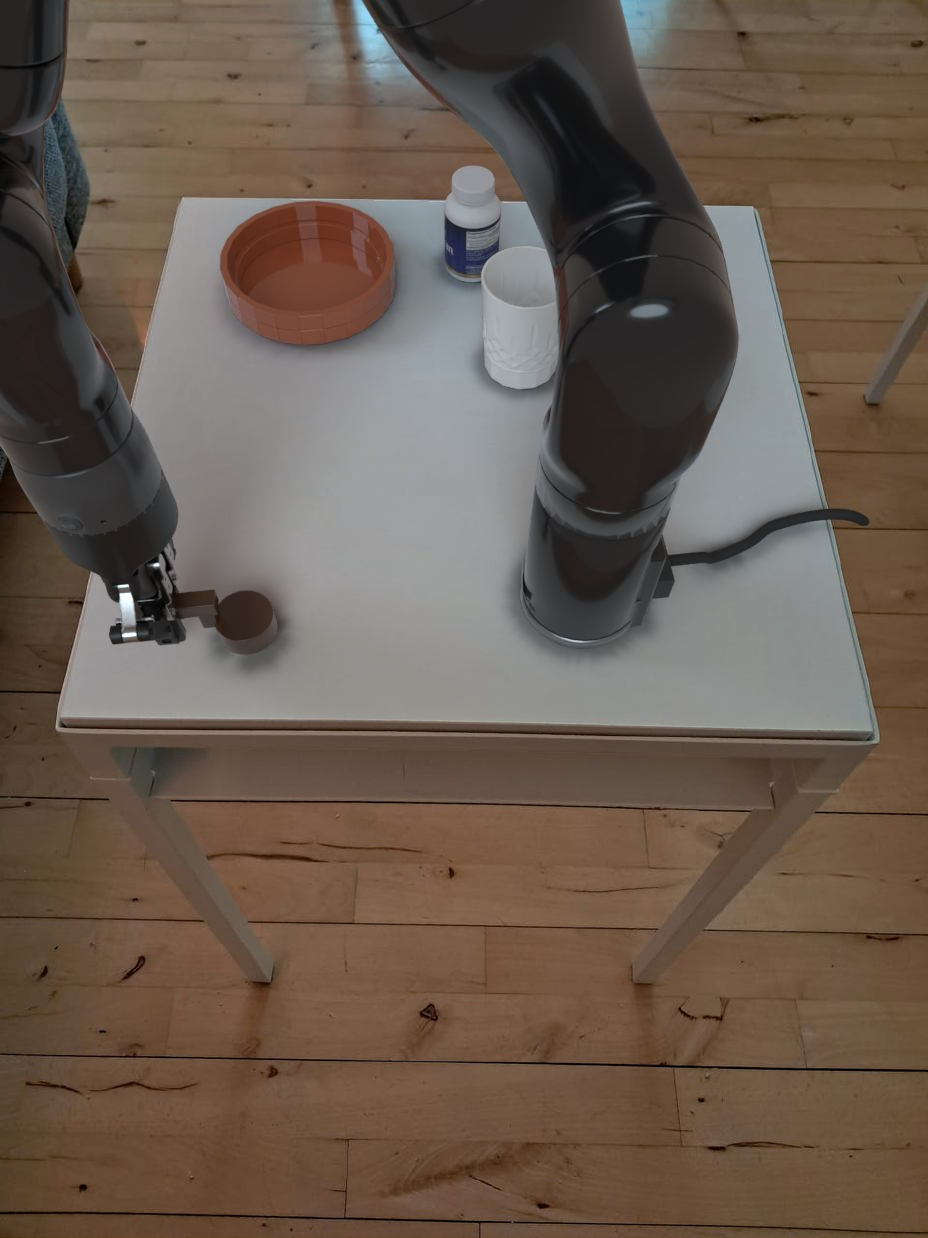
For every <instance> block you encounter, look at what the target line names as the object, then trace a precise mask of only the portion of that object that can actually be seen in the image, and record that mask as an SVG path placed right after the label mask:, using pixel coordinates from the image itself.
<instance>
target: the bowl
mask: <svg viewBox="0 0 928 1238" xmlns="http://www.w3.org/2000/svg"><path fill="white" fill-rule="evenodd" d="M395 262H396V261H395V252H394V243H393V242H392V240H391V237H389V234H388V233H387V230H386V229H385V228H384V227H383V226H382V225H381V224H380V223H379V222H378V221H377V220H376V219H375V218H373V217H372V216H370V215H369V214H366V213H365V212H363V211H361V210H360V209H358V208H355V207H352V206H349V205H345V204H342V203H339V202H328V201H320V200H307V201H292V202H288V203H284V204H280V205H275V206H272V207H270V208H267V209H264V210H262V211H260V212H257V213H255V214H254V215H252V216H251V217H249V218H247V219H246V220H245V221H243V222H242V223H240V224H239V225H237V227H236V228H235V229H233V231H232V232H231V233H230V234H229V236H228V237H227V238H226V240H225V243H224V245H223V247H222V249H221V251H220V255H219V271H220V276H221V280H222V283H223V288H224V292H225V296H226V298H227V301H228V305H229V307H230V309H231V312H232V313H233V314H234V315H235V317H236V318H237V319H238V320H239V322H240V323H242V325H244V326H245V327H247V328H248V329H250V330H251V331H252V332H254V333H256V334H257V335H259V336H261V337H265V338H268V339H270V340H273V341H276V342H279V343H284V344H293V345H301V346H306V345H321V344H328V343H332V342H337V341H339V340H343V339H347V338H350V337H352V336H354V335H356V334H358V333H360V332H362V331H363V330H367V329H368V328H369V327H370V326H371V325H372V324H374V323H375V322H376V321H377V320H378V319H380V318H381V317H382V316H383V315H384V314H385V312H386V310H387V309H388V308H389V306H390V305H391V304H392V302H393V298H394V295H395V291H396V288H397V282H396V266H395V265H396V264H395Z"/></svg>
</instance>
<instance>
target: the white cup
mask: <svg viewBox="0 0 928 1238" xmlns="http://www.w3.org/2000/svg"><path fill="white" fill-rule="evenodd" d="M480 284H481V322H482V323H481V324H482V325H481V326H482V327H481V328H482V340H483V347H484V350H483V351H484V367H485V369H486V371H487V373H488V375H489V376H490V378H491V379H492V380H494V381H495V382H497V383H498V384H500V385H501V386H503V387H506V388H511V389H516V390H527V389H535V388H537V387H539V386H541V385H543V384H545V383H547V382H549V381H550V379H551V378H552V377H553V375H554V373H556V370H557V359H558V333H557V313H556V292H555V282H554V275H553V270H552V266H551V262H550V259H549V256H548V253H547V250H546V248H544V247H540V246H534V245H517V246H511V247H508V248H505V249H502V250H499V252H498V253H496V254H494V255H493V256H492V257H490V258H489V259H488V260H487V262H486V263H485V265H484V266H483V269H482V273H481V281H480Z"/></svg>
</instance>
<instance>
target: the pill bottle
mask: <svg viewBox="0 0 928 1238" xmlns="http://www.w3.org/2000/svg"><path fill="white" fill-rule="evenodd" d="M495 191H496V179H495V176H494V174H493V172H492V171H491V170H490V169H488V168H486V167H484V166H480V165H466V166H465V165H464V166H462V167H460V168H458V169H457V170H455V171H454V172H453V174H452V176H451V192H450V193H449V194H448V195H447V197H446V198H445V202H444V206H443V207H444V210H443V215H444V217H443V219H444V221H443V223H444V227H443V230H444V231H443V232H444V233H443V234H444V235H443V236H444V266H445V269H446V271H447V273H449V275H450V276H451V277H453V278H454V279H455V280H458V281H461V282H464V283H465V282H466V283H479V282H481V273H482V269H483V266H484V265H485V263H486V262H487V260H488V259H489V258H490V257H492V256H493V255H494V254H496V253H498V252H500V238H501V237H500V233H501V217H502V204H501V200H500V198H499V197H498V195H497V194H496V193H495Z"/></svg>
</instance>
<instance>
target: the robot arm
mask: <svg viewBox="0 0 928 1238" xmlns="http://www.w3.org/2000/svg"><path fill="white" fill-rule="evenodd" d="M361 2H362V4H363V5H364V8H365V9H366V11H367V12H368V14H369V16H370V17H371V18H372V20H373V22H374V23H375V25H376V27H377V28H378V30H379V31H380V33H381V35H382V37H383V38H384V39H385V41H386V43H387V44H388V45H389V46H390V48H391V50H392V51H393V53H394V54H395V55H396V56H397V58H398V59H399V61H400V62H401V63H402V64H403V65H404V67H405V68H406V69H407V71H408V72H409V73H410V74H411V76H413V77H414V78H415V79H416V80H417V82H419V83H420V84H421V85H422V87H423V88H424V89H426V90H427V92H428V93H429V94H430V95H432V96H433V97H434V98H435V99H436V100H437V101H438V102H439V103H441V104H442V105H443V106H444V107H445V108H446V109H447V110H449V111H450V113H452V114H454V115H455V116H456V117H457V118H458V119H460V120H461V121H462V122H463V123H465V124H466V125H467V126H468V127H470V129H472V130H473V131H475V133H477V134H478V135H479V136H480V137H481V138H483V139H484V141H486V142H487V143H488V144H489V145H490V147H492V149H493V150H494V151H495V153H497V155H498V156H499V157H500V158H501V160H502V161H503V163H504V164H505V166H506V167H507V168H508V170H509V172H510V173H511V175H512V177H513V179H514V180H515V183H516V184H517V186H518V188H519V190H520V193H521V195H522V196H523V199H524V201H525V202H526V205H527V207H528V209H529V211H530V213H531V215H532V218H533V220H534V222H535V225H536V228H537V230H538V232H539V234H540V237H541V239H542V242H543V245H544V247H545V249H546V250H547V253H548V256H549V259H550V262H551V266H552V270H553V275H554V282H555V292H556V313H557V333H558V359H557V366H556V371H555V380H554V387H553V394H552V395H553V396H552V401H551V404H550V405H549V407H548V409H547V410H546V413H545V415H544V418H543V422H542V425H541V432H540V433H541V434H540V442H539V450H538V451H539V452H538V457H537V466H536V474H535V482H534V490H533V498H532V505H531V512H530V513H531V514H530V521H529V529H528V536H527V544H526V552H525V559H524V556H522V558H521V580H520V581H521V582H520V589H519V590H520V591H519V599H520V605H521V609H522V612H523V613H524V615H525V618H526V619H527V621H528V622H529V623H530V625H531V626H532V627H533V628H534V629H535V630H536V631H537V632H538V634H541V635H542V636H543V637H544V638H545V639H548V640H549V641H551V642H554V643H556V644H557V645H558V644H559V645H561V646H564V647H569V648H573V649H574V648H575V649H593V648H598V647H602V646H605V645H609V644H610V643H612V642H614V641H616V640H617V639H619V638H620V637H622V636H623V635H624V634H625V633H626V632H627V631H628V630H629V629H630V628H631V627H638V626H642V625H643V624H644V622H645V620H646V616H647V615H648V611H649V608H650V605H651V602H652V600H654V599H655V600H656V599H666V598H669V597H670V595H671V592H672V589H673V587H674V585H675V582H676V581H675V576H674V573H673V569H672V567H678V566H687V565H696V564H697V565H699V564H706V565H711V564H716V563H719V562H722V561H725V560H728V559H730V558H732V557H736V556H737V555H739V554H742V553H743V552H746V551H748V550H749V549H751V548H753V547H754V546H756V545H757V544H759V543H760V542H761V541H763V540H764V539H765V538H766V537H768V536H769V535H770V534H772V533H775V532H777V531H779V530H783V529H786V528H790V527H795V526H797V525H802V524H806V523H812V522H819V521H832V520H833V521H835V520H837V521H847V522H852V523H855V524H857V525H858V526H859V527H866V526H869V525H870V523H871V522H870V519H869V518H868V516H866V515H865V514H863V513H861V512H859V511H856V510H854V509H853V510H852V509H846V508H819V509H812V510H807V511H802V512H797V513H792V514H789V515H785V516H781V517H779V518H778V517H777V518H775V519H773V520H769V521H768V522H765V523H764V524H763V525H762V526H760V527H759V528H757V529H756V530H755V531H754V532H753V533H752V534H750V535H748V536H747V537H745V538H743V539H741V540H739V541H737V542H735V543H733V544H731V545H728V546H726V547H723V548H721V549H717V550H713V551H710V552H708V551H694V552H693V551H692V552H684V553H683V552H682V553H674V554H668V550H667V546H666V542H665V539H664V535H663V532H664V530H665V526H666V523H667V520H668V517H669V514H670V512H671V509H672V508H671V507H672V505H673V502H674V499H675V496H676V494H677V490H678V488H679V485H680V481H681V478H682V476H683V474H684V473H685V472H687V470H689V469H690V468H691V467H692V465H694V463H695V462H696V461H697V459H698V458H699V456H700V455H701V453H702V451H703V449H704V447H705V445H706V443H707V439H708V438H709V435H710V433H711V431H712V428H713V426H714V424H715V420H716V418H717V415H718V414H719V412H720V409H721V406H722V404H723V402H724V399H725V397H726V394H727V391H728V389H729V385H730V383H731V381H732V377H733V373H734V370H735V366H736V363H737V358H738V353H739V339H740V334H739V327H738V326H739V325H738V321H737V315H736V310H735V309H736V308H735V304H734V299H733V294H732V289H731V282H730V277H729V272H728V271H729V270H728V267H727V266H728V265H727V261H726V257H725V253H724V249H723V245H722V241H721V239H720V236H719V234H718V232H717V228H716V227H715V225H714V223H713V221H712V219H711V218H710V215H709V214H708V212H707V210H706V208H705V206H704V204H703V203H702V201H701V199H700V197H699V196H698V194H697V192H696V190H695V188H694V187H693V185H692V183H691V181H690V179H689V178H688V176H687V174H686V172H685V170H684V168H683V166H682V165H681V163H680V161H679V158H678V157H677V155H676V153H675V151H674V149H673V147H672V145H671V143H670V141H669V140H668V137H667V135H666V134H665V131H664V129H663V128H662V126H661V124H660V122H659V120H658V117H657V116H656V114H655V112H654V110H653V109H654V108H653V107H652V105H651V102H650V101H649V98H648V96H647V93H646V91H645V87H644V86H643V82H642V80H641V77H640V73H639V70H638V66H637V63H636V60H635V57H634V52H633V47H632V43H631V39H630V34H629V29H628V26H627V22H626V18H625V13H624V8H623V5H622V2H621V0H361ZM70 5H71V4H70V0H0V447H1V449H2V450H3V452H4V454H5V456H6V457H7V459H8V460H9V463H10V466H11V468H12V471H13V473H14V476H15V478H16V480H17V482H18V484H19V486H20V488H21V489H22V491H23V492H24V494H25V496H26V497H27V499H28V501H29V502H30V503H31V505H32V507H33V508H34V510H35V512H36V513H37V514H38V516H39V518H40V519H41V521H42V522H43V524H44V525H45V527H46V528H47V530H48V532H49V533H50V535H51V536H52V538H53V540H54V541H55V543H56V544H57V546H58V548H59V549H60V550H61V552H62V554H64V557H66V558H67V559H68V560H69V561H70V562H72V563H73V564H75V565H77V566H78V567H80V568H82V569H84V570H86V571H89V572H91V573H93V574H96V575H97V576H99V577H100V579H101V581H102V583H103V584H104V587H105V589H106V593H107V595H108V597H109V598H110V600H111V601H113V602H114V603H116V604H118V606H119V613H120V615H119V616H120V617H116V618H115V619H114V624H115V625H111V626H110V627H109V631H108V637H109V640H110V643H111V644H112V646H113V645H114V646H115V645H124V644H134V643H143V642H144V643H145V642H153V641H155V643H156V644H157V645H158V646H161V647H162V646H167V645H168V646H169V645H170V646H171V645H180V644H181V643H182V642H183V643H184V642H185V641H186V640H187V630H186V628H185V625H184V623H183V621H182V620H184V619H185V618H182V619H180V618H179V616H178V614H177V612H176V609H175V608H174V605H173V603H172V594H175V593H181V592H180V591H179V589H178V587H177V583H178V579H179V577H178V573H176V569H175V567H174V564H175V563H174V562H175V561H176V556H177V550H176V547H175V544H174V538H173V537H174V535H175V533H176V531H177V527H178V522H179V508H178V504H177V501H176V498H175V496H174V494H173V491H172V489H171V487H170V484H169V482H168V479H167V477H166V475H165V472H164V470H163V468H162V465H161V463H160V460H159V458H158V455H157V453H156V451H155V448H154V446H153V444H152V442H151V438H150V437H149V434H148V433H147V431H146V428H145V427H144V425H143V424H142V422H141V420H140V419H139V417H138V416H137V414H136V412H135V411H134V409H133V407H132V406H131V404H130V402H129V399H128V397H127V395H126V392H125V390H124V388H123V386H122V382H121V381H120V378H119V376H118V374H117V371H116V369H115V366H114V364H113V363H112V360H111V358H110V357H109V355H108V352H107V351H106V349H105V347H104V345H103V344H102V343H101V341H100V340H99V339H98V337H97V336H96V335H95V333H94V332H93V331H92V330H91V329H90V328H89V327H88V324H87V323H86V319H85V318H84V315H83V312H82V310H81V308H80V305H79V302H78V299H77V297H76V294H75V290H74V288H73V286H72V282H71V280H70V276H69V274H68V271H67V268H66V265H65V262H64V259H63V255H62V252H61V249H60V246H59V241H58V238H57V235H56V232H55V229H54V224H53V221H52V218H51V214H50V210H49V207H48V204H47V196H46V185H45V169H44V168H45V167H44V166H45V165H44V163H45V162H44V161H45V160H44V158H45V157H44V156H45V154H44V153H45V152H44V151H45V135H46V133H45V132H46V123H47V121H49V120H50V119H51V118H52V117H53V115H54V113H55V112H56V110H57V108H58V106H59V103H60V101H61V98H62V93H63V88H64V84H65V77H66V71H67V61H68V43H69V23H70V22H69V21H70ZM524 560H525V561H524ZM523 561H524V562H523ZM523 563H524V564H523ZM523 566H524V567H523ZM523 568H524V569H523Z"/></svg>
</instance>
